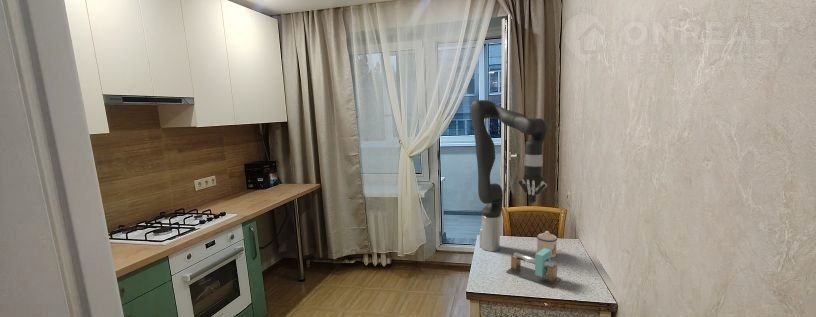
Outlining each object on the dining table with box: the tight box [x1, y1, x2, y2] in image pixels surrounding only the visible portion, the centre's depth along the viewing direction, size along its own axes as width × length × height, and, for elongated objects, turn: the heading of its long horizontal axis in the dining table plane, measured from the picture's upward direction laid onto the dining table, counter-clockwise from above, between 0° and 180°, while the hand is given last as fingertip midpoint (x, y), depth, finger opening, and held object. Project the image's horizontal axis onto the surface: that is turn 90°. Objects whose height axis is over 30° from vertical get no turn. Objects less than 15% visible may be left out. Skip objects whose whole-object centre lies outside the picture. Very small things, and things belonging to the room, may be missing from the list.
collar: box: [534, 248, 552, 277], centre depth 149 cm, size 3×8×9 cm, turn 135°
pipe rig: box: [506, 252, 562, 289], centre depth 153 cm, size 20×9×8 cm, turn 45°
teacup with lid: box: [536, 230, 558, 259], centre depth 176 cm, size 12×9×12 cm
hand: (532, 202), depth 160 cm, fingers closed
